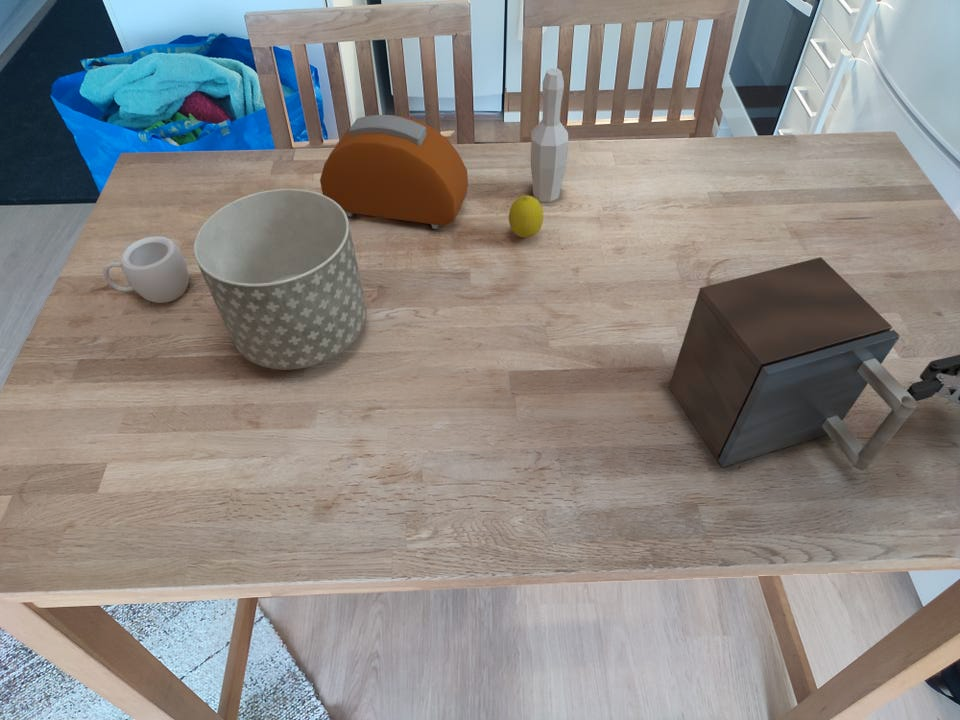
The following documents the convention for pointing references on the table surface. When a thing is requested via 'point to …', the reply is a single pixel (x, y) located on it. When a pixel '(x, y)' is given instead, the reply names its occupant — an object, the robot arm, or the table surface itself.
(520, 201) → the lemon
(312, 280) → the planter
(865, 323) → the cupboard
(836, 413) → the door
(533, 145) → the low poly bottle
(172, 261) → the mug
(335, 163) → the orange toaster
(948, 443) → the table surface
